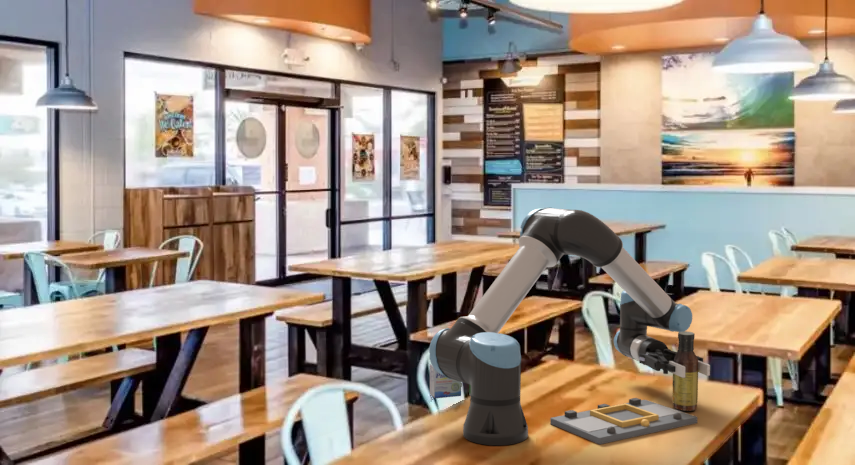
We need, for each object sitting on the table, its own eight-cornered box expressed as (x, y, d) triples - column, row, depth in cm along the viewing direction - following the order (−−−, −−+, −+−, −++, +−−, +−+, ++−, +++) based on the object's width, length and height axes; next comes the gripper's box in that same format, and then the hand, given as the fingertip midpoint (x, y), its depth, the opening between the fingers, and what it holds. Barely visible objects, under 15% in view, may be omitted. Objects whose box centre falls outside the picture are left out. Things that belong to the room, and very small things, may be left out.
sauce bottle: (678, 403, 231) (680, 328, 229) (701, 408, 227) (703, 332, 225) (667, 409, 226) (669, 332, 224) (690, 413, 222) (693, 335, 220)
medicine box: (433, 398, 239) (433, 367, 238) (429, 394, 243) (429, 363, 243) (461, 396, 241) (461, 365, 240) (456, 392, 245) (456, 361, 245)
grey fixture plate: (599, 444, 200) (599, 431, 200) (550, 423, 216) (550, 412, 216) (697, 422, 216) (697, 411, 215) (644, 405, 231) (645, 394, 231)
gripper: (680, 362, 246) (729, 383, 223) (618, 367, 241) (661, 388, 219) (681, 336, 245) (730, 354, 223) (618, 340, 240) (662, 359, 218)
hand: (696, 371), depth 221 cm, fingers closed on sauce bottle, 6 cm apart
